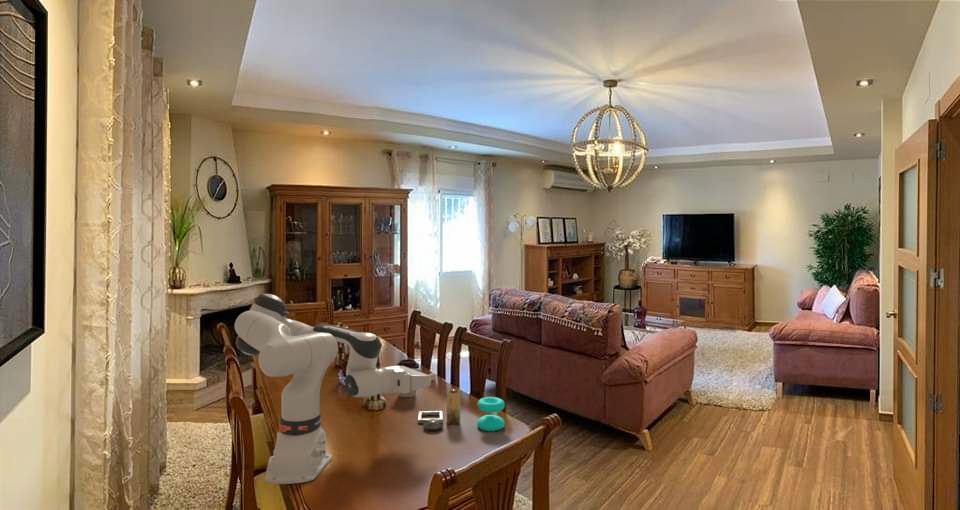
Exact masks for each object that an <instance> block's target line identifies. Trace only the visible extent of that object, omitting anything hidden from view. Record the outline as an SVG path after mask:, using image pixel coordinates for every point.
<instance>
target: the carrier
mask: <svg viewBox="0 0 960 510" xmlns="http://www.w3.org/2000/svg"><path fill="white" fill-rule="evenodd" d="M427 419H429V420H426V421H424V423H423V427H422V429H423V430H424V431H426V432H432V433H433V432H435V431H436V432H439V431H441V429H442V428H444V421H441V420H439V419H437V418H435V417H430V418H428V417H427ZM442 430H443V429H442Z"/></svg>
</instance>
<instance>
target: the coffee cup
mask: <svg viewBox="0 0 960 510" xmlns="http://www.w3.org/2000/svg"><path fill="white" fill-rule="evenodd" d="M395 365H397V366H405V367H408V368H410V369H420V364H419V363H418V362H416V360H415V359H409V358H407V359H401V360H400V361H399V362H398V363H397V364H395ZM416 394H417V390H410V392H409V393H399V392H398V396H401V398H404V397H406V398H407V397H409V398H413V397H415V396H416ZM406 398H405V399H406Z"/></svg>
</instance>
